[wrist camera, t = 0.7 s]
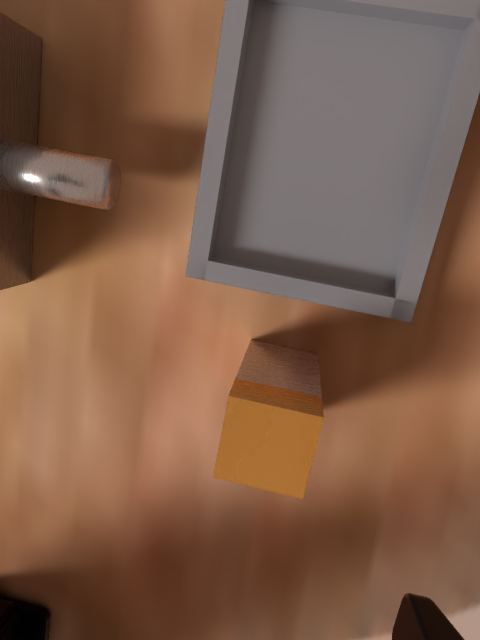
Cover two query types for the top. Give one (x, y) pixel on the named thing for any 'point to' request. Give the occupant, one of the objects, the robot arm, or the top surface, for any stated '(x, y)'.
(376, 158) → the tray
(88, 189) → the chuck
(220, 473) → the block
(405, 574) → the top surface
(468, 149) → the top surface
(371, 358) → the top surface
